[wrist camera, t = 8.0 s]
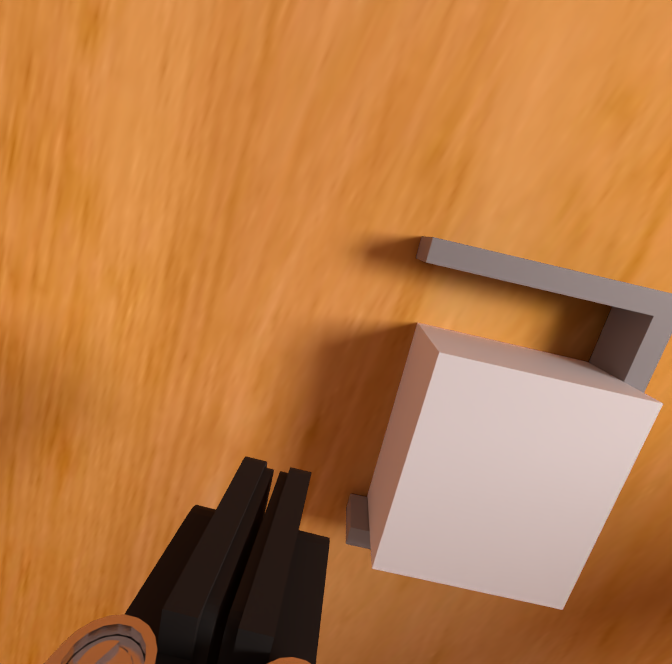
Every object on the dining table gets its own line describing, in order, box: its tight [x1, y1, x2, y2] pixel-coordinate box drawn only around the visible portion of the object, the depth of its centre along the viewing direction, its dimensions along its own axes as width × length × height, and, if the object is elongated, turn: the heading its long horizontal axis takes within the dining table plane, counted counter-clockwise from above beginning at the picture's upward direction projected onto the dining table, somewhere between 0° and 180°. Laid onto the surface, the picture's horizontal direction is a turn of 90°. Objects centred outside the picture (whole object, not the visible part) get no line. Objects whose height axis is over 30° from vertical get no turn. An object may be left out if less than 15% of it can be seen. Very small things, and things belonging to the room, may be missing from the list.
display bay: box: [346, 236, 672, 549], centre depth 18 cm, size 10×15×2 cm
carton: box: [367, 323, 663, 610], centre depth 18 cm, size 8×10×5 cm
